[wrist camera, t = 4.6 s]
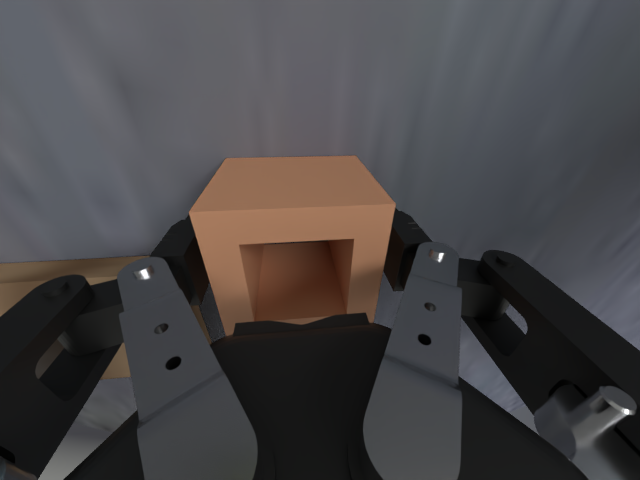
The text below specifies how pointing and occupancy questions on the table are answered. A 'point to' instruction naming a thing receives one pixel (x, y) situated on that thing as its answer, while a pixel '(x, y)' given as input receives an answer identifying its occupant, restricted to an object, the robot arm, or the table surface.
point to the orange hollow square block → (293, 238)
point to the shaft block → (20, 278)
